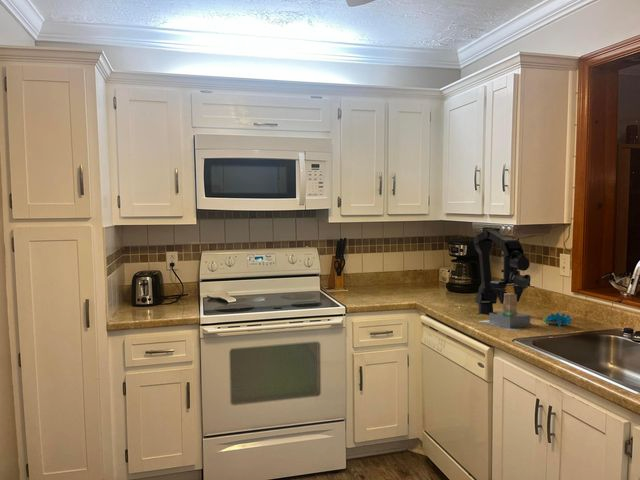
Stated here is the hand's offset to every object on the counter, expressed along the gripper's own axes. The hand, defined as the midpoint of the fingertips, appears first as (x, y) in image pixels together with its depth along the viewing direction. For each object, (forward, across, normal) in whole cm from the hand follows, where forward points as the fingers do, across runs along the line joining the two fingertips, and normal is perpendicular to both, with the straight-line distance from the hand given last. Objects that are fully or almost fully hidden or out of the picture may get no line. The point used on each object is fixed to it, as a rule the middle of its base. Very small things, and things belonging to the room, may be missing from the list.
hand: (509, 302), depth 213 cm
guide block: (+10, 0, 0) cm, 10 cm away
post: (+6, 0, 0) cm, 6 cm away
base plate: (+11, 0, 0) cm, 11 cm away
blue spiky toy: (+11, +16, -11) cm, 23 cm away
